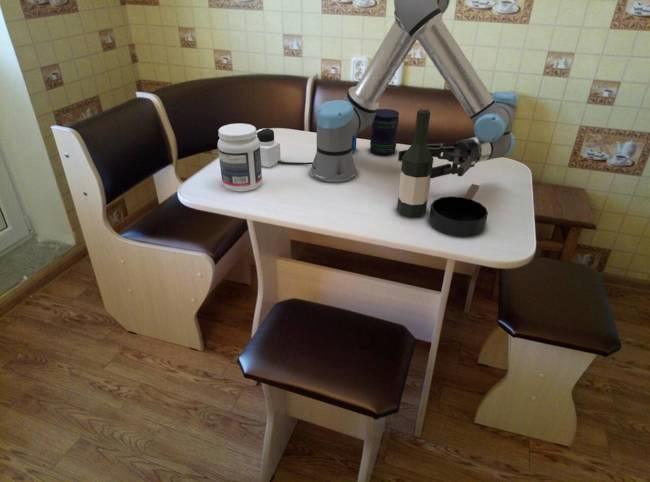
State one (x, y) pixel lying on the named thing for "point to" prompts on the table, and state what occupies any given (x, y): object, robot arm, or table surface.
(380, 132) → the storage jar
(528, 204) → the table surface
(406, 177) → the wine bottle
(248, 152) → the supplement tub
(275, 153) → the medicine bottle
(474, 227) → the frying pan
